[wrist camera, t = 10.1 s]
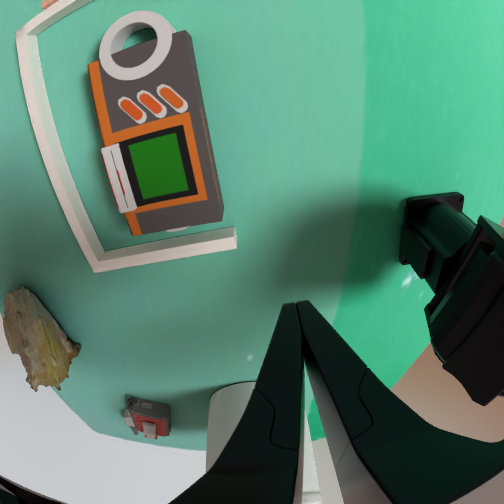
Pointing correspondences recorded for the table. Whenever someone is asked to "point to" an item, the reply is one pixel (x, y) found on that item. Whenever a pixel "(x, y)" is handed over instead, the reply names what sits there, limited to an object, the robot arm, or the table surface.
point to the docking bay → (56, 7)
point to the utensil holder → (227, 418)
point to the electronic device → (154, 128)
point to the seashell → (37, 339)
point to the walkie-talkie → (148, 417)
